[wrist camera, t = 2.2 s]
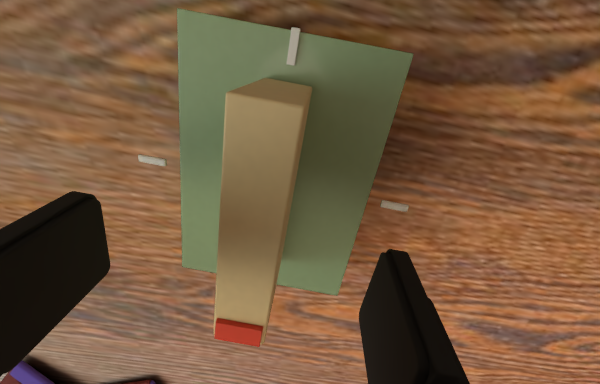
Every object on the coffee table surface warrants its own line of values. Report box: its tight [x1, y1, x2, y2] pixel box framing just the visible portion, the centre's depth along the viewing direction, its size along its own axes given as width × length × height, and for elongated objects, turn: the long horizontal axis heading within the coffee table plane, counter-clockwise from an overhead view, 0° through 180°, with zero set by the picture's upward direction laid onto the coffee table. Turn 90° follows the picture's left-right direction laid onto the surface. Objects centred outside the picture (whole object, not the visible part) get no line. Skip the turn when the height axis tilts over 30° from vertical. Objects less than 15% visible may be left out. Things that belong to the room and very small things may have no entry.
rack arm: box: [213, 78, 312, 347], centre depth 12 cm, size 10×2×6 cm, turn 170°
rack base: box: [138, 8, 413, 296], centre depth 16 cm, size 14×14×3 cm
